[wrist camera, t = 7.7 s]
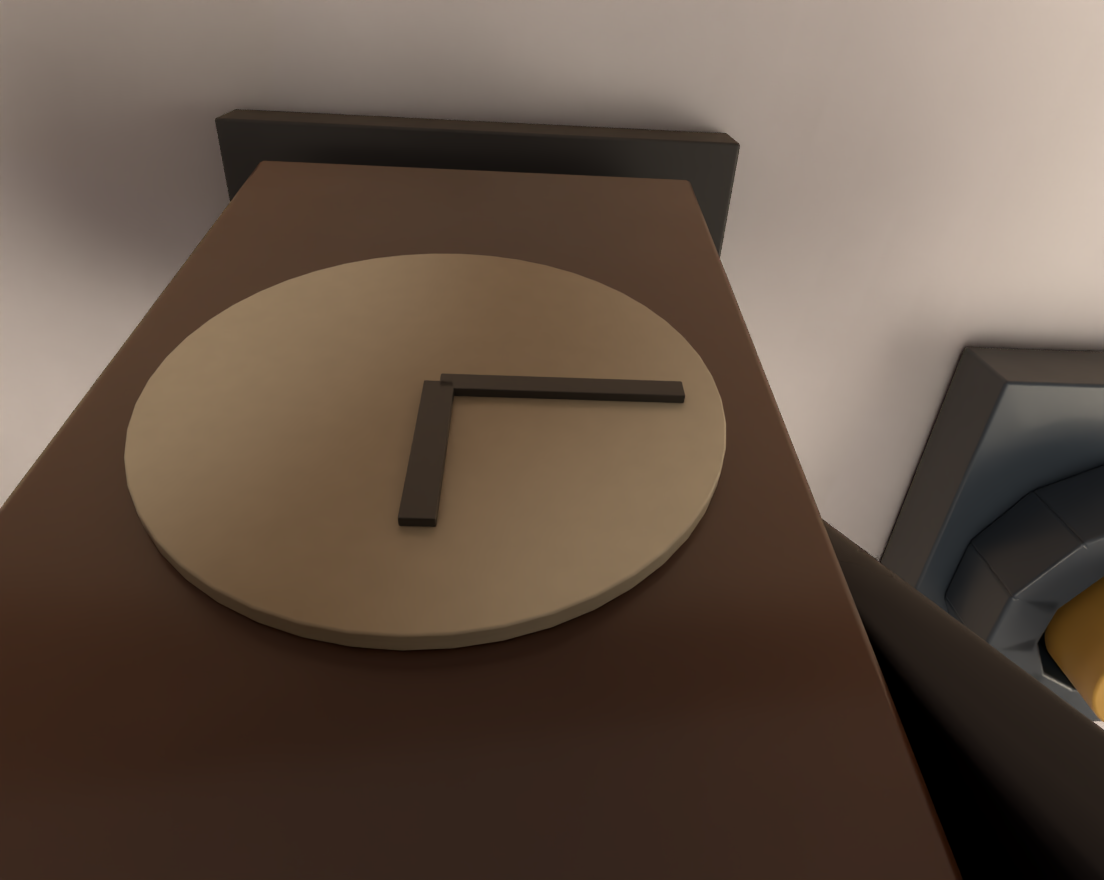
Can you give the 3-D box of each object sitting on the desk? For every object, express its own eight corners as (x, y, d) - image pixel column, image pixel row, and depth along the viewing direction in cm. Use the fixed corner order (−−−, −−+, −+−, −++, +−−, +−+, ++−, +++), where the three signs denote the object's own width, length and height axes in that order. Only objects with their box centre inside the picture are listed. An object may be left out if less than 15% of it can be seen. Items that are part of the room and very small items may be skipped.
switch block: (1104, 659, 22) (1194, 766, 19) (842, 654, 21) (892, 763, 18) (1309, 358, 16) (1480, 442, 13) (964, 345, 16) (1062, 429, 13)
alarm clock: (-12, 1128, 6) (-462, 1018, 3) (303, 361, 14) (255, 138, 11) (806, 1116, 6) (1058, 1007, 4) (655, 373, 15) (694, 159, 12)
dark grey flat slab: (335, 694, 22) (326, 723, 21) (233, 108, 13) (213, 118, 12) (632, 698, 22) (636, 727, 21) (727, 132, 13) (741, 143, 13)
